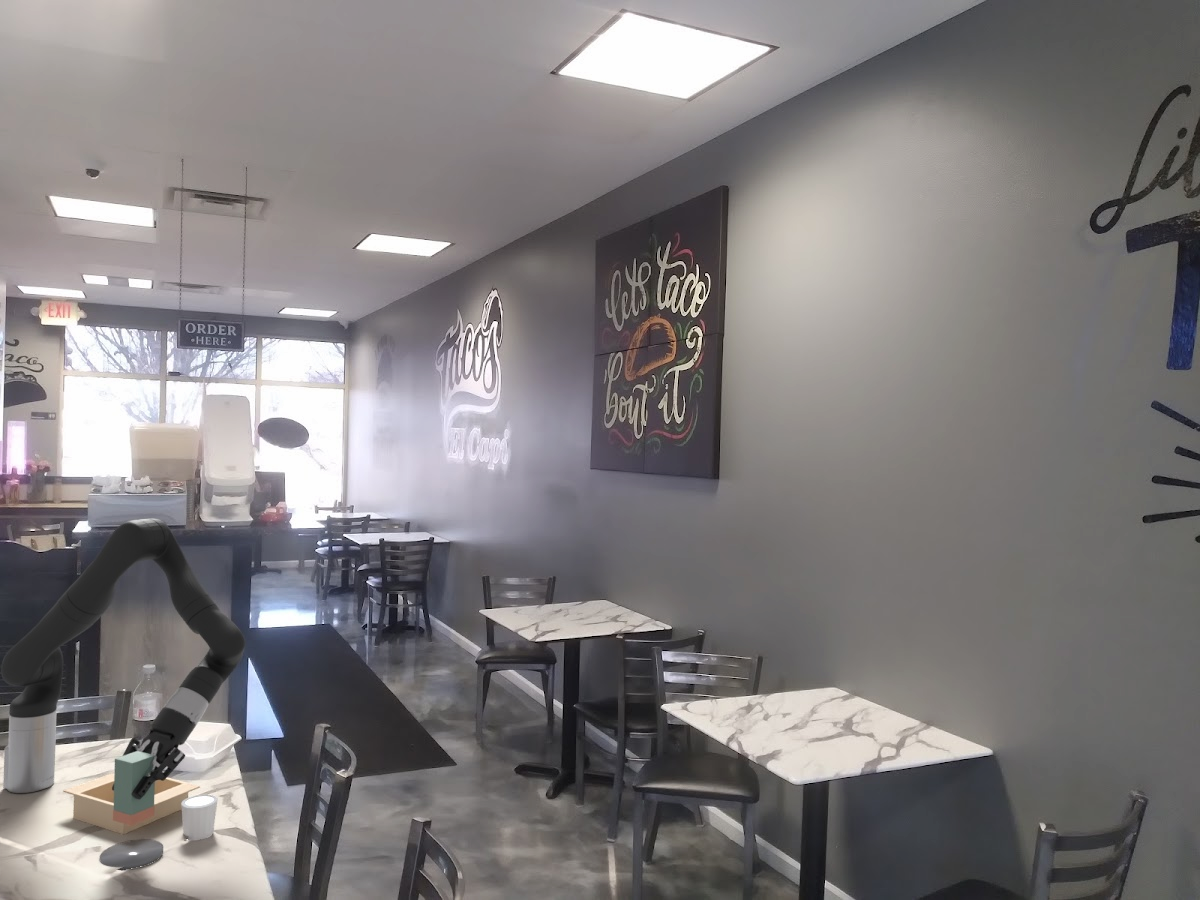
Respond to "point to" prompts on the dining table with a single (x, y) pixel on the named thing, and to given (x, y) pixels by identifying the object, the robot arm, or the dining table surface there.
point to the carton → (99, 802)
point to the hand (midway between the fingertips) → (125, 794)
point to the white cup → (199, 816)
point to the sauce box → (125, 781)
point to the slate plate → (132, 853)
